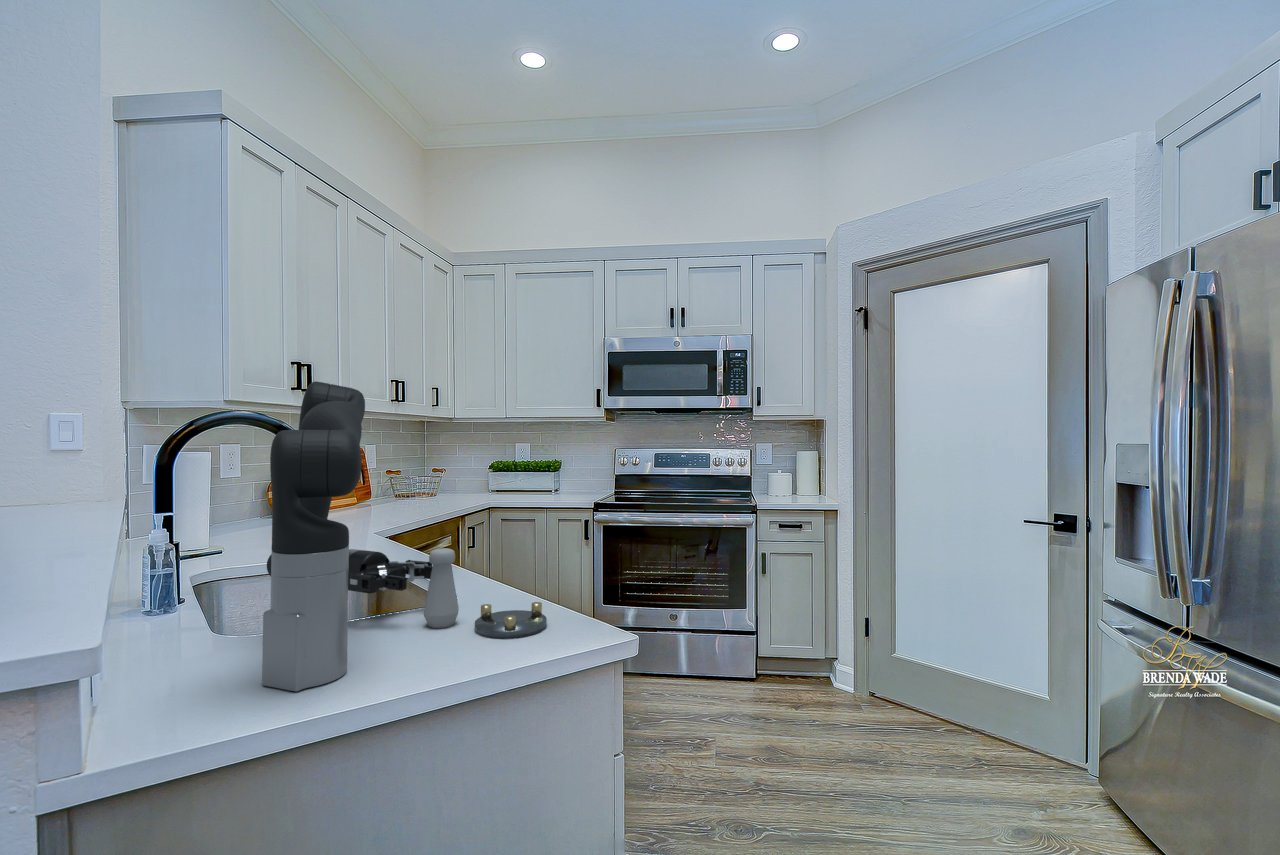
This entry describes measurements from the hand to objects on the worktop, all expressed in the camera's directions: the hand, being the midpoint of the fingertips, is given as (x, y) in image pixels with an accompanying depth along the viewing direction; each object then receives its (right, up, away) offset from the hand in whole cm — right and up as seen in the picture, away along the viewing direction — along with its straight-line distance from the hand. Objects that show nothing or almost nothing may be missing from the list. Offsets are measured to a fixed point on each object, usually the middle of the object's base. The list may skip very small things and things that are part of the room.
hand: (423, 578), depth 106 cm
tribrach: (+16, -8, -3) cm, 18 cm away
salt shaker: (+4, -8, -2) cm, 9 cm away
